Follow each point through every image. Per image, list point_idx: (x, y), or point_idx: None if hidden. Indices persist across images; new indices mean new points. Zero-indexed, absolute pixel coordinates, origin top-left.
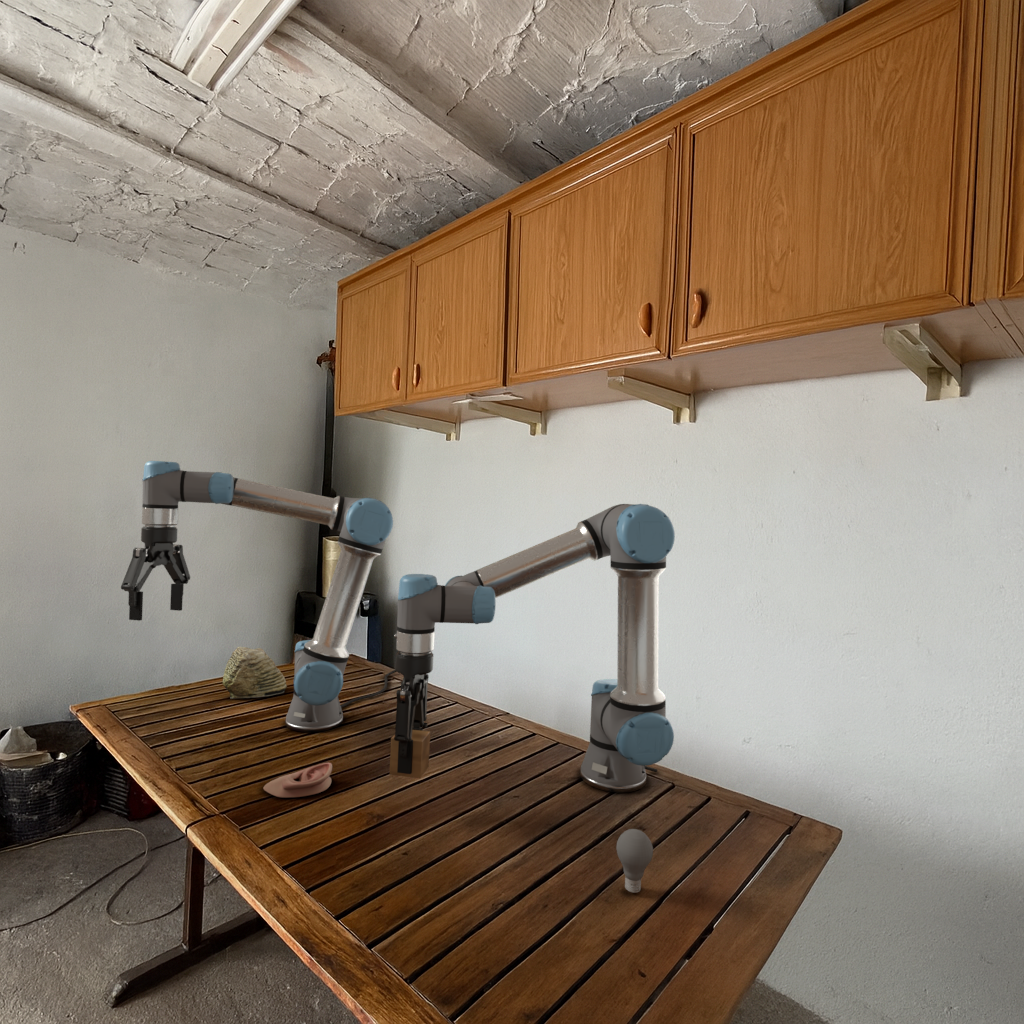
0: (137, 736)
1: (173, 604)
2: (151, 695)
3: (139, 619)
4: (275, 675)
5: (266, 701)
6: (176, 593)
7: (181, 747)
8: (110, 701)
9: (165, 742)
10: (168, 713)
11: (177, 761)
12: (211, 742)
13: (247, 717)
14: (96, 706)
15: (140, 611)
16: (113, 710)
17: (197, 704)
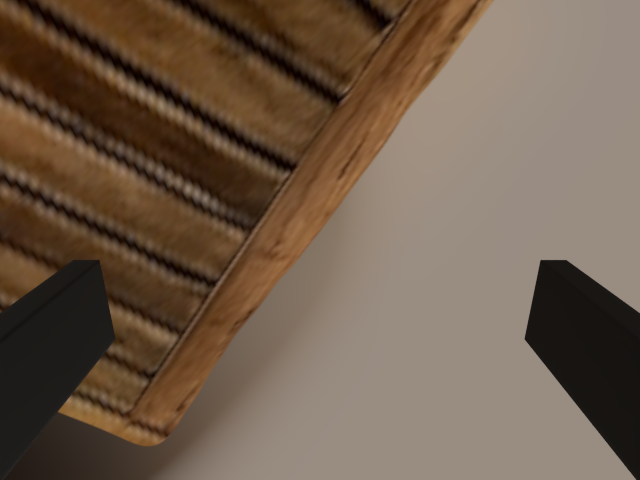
0: (248, 240)
1: (86, 342)
2: None
3: (571, 264)
4: None
5: None
6: (10, 391)
7: (271, 103)
8: (105, 421)
9: (257, 159)
10: (107, 273)
11: (345, 55)
12: (221, 50)
13: (35, 68)
14: (141, 423)
15: (607, 292)
16: (144, 382)
17: (26, 252)
